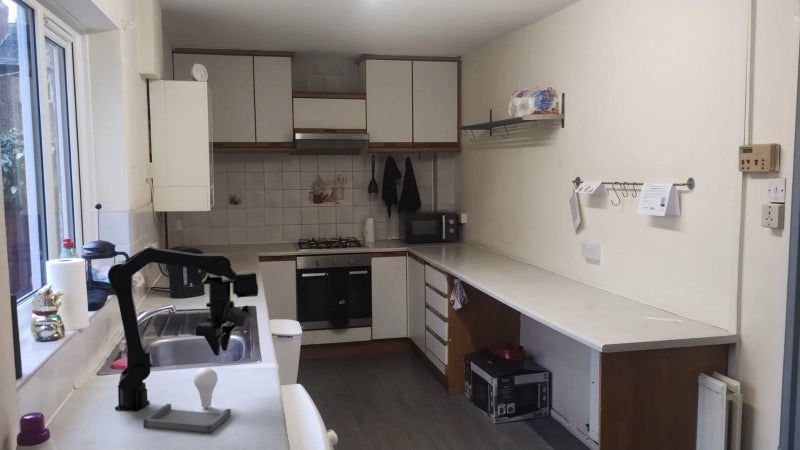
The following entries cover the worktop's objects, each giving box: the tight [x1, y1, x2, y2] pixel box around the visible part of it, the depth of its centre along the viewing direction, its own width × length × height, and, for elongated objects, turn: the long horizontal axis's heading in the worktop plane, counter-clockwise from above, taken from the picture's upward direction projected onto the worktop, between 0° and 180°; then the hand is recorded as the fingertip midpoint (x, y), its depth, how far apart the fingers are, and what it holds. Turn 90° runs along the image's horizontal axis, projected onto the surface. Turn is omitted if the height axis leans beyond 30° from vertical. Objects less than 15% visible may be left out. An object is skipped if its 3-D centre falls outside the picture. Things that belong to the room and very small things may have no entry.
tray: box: [142, 403, 232, 435], centre depth 159 cm, size 18×11×2 cm, turn 80°
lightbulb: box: [193, 367, 219, 409], centre depth 167 cm, size 6×6×11 cm
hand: (220, 353), depth 176 cm, fingers open, 4 cm apart
